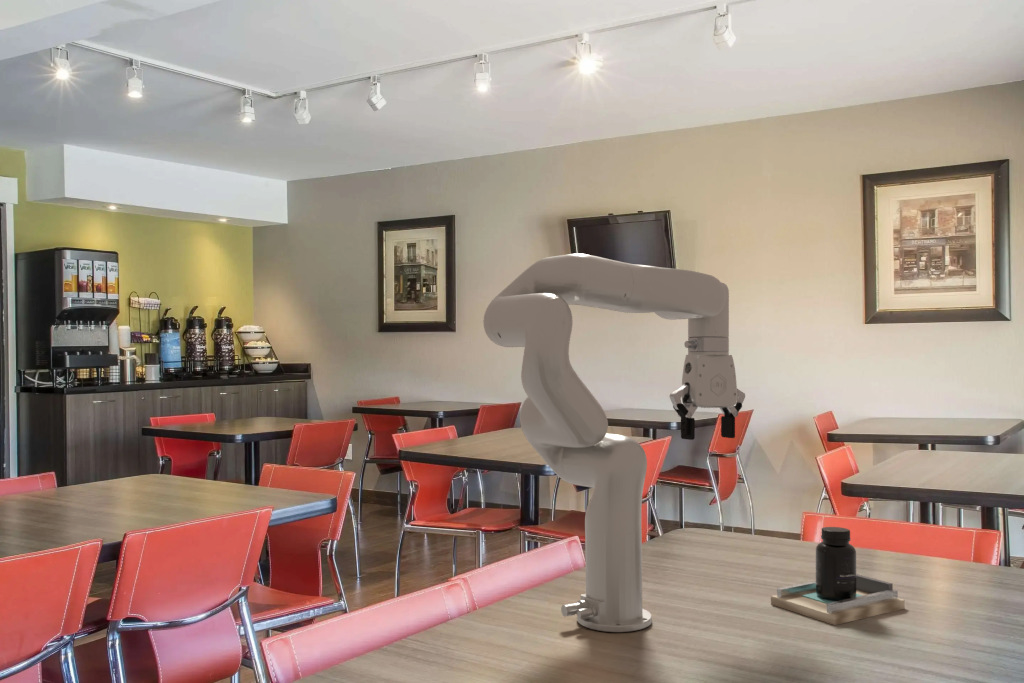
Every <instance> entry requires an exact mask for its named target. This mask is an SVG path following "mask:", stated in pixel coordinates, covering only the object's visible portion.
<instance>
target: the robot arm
mask: <svg viewBox="0 0 1024 683" xmlns="http://www.w3.org/2000/svg"><path fill="white" fill-rule="evenodd" d="M729 292H730V290H729V287H728V285H727V284H726V283H725V282H722V281H720V280H719V279H718V278H716V276H713V275H710V274H707V273H703V272H699V271H695V270H694V271H693V270H688V269H682V268H681V269H680V268H670V267H661V266H660V267H659V266H655V265H654V266H653V265H645V264H633V263H628V262H623V261H620V260H615V259H614V260H613V259H609V258H605V257H601V256H597V255H592V254H591V255H590V254H586V253H570V254H569V253H568V254H562V255H561V254H560V255H555V256H548V257H544V258H541V259H539V260H537V261H536V262H534V263H533V264H531V265H530V266H528V267H527V268H526V269H525V270H524V271H523V272H522V273H521V274H519V275H518V276H517V277H516V278H515V279H514V280H513V281H511V283H509V284H508V285H507V286H506V287H505V288H504V289H503V290H501V291H500V292H499V293H498V294H497V295H496V296H495V297H494V298H493V299H492V300H491V301H490V302H489V304H488V305H487V307H486V308H485V311H484V315H483V322H482V323H483V329H484V333H485V334H486V336H487V338H488V339H489V340H490V341H492V343H493V344H495V345H497V346H500V347H502V348H503V347H504V348H524V350H523V357H522V364H521V371H520V379H521V385H522V388H523V391H524V392H525V393H526V395H527V397H526V398H525V399H524V401H523V403H522V405H521V407H520V414H519V421H520V427H521V431H522V433H523V435H524V437H525V438H526V440H527V442H528V443H529V444H530V445H531V447H532V448H534V450H535V452H536V453H538V455H539V456H540V457H541V458H542V459H543V461H544V463H546V465H547V466H548V467H549V468H550V469H551V471H553V473H554V474H556V475H557V477H558V478H560V479H561V480H562V481H564V482H566V483H568V484H570V485H574V486H575V485H576V486H580V487H587V488H591V489H594V491H593V492H592V495H591V498H590V500H589V502H588V504H587V507H586V509H585V516H584V532H585V534H584V535H585V536H584V537H585V539H584V541H585V542H584V543H585V544H584V545H585V548H584V550H585V552H584V553H585V556H584V557H585V593H583V594H580V600H579V599H578V600H577V601H576V602H575V603H573V602H571V603H567V604H562V605H561V607H560V608H561V609H560V611H561V614H562V616H563V617H564V618H565V617H571V616H575V615H576V621H577V622H578V623H579V624H580V625H581V626H583V627H585V628H587V629H591V630H593V631H598V632H599V631H600V632H609V633H627V632H629V633H630V632H634V631H640V630H643V629H645V628H648V627H649V626H650V625H651V624H652V622H653V620H652V619H653V615H652V614H651V612H650V611H649V610H646V609H644V608H643V549H642V548H643V544H642V543H643V542H642V541H643V540H642V536H643V535H642V534H643V533H642V532H643V531H642V530H643V529H642V506H643V493H644V486H645V481H646V476H647V468H648V459H647V458H648V457H647V454H646V451H645V450H644V448H643V446H642V445H641V444H640V443H639V442H638V441H637V440H636V439H634V438H632V437H629V436H627V435H624V434H623V435H622V434H616V433H608V428H609V421H608V418H607V415H606V412H605V410H604V408H603V407H602V405H601V404H600V403H599V401H598V400H597V399H596V397H595V396H594V395H593V393H592V392H591V391H590V389H589V388H588V387H587V385H586V384H585V383H584V382H583V381H582V379H581V377H579V375H578V374H577V372H576V370H575V369H574V367H573V366H572V364H571V361H570V344H571V343H570V342H571V336H572V331H573V313H572V310H571V307H570V305H572V306H581V307H582V306H583V307H588V308H595V309H596V308H597V309H602V310H608V311H613V312H618V313H619V312H620V313H624V314H625V313H627V314H628V313H629V314H630V313H631V314H649V313H650V314H651V313H654V314H656V315H657V316H658V317H659V318H662V319H664V320H671V321H672V320H687V340H685V342H684V348H685V349H687V354H686V355H685V358H684V362H683V370H682V379H681V386H680V387H679V388H678V389H675V390H674V391H673V392H671V393H670V394H669V399H670V402H671V404H672V408H673V410H674V411H675V412H676V413H677V416H678V418H680V437H681V440H682V439H683V440H690V441H693V440H695V433H696V432H695V428H696V427H695V425H696V424H695V418H694V417H693V416H694V414H695V412H696V411H697V409H698V408H704V409H705V408H706V409H711V408H713V409H717V408H719V410H720V411H721V413H722V414H723V415H721V418H720V425H721V426H720V432H721V434H720V435H721V437H722V438H728V439H735V438H736V417H738V416H739V412H740V410H741V409H742V408H743V403H744V400H745V398H746V393H745V392H743V391H742V390H740V389H739V388H738V386H737V385H738V384H737V375H736V374H737V373H736V368H735V362H734V357H733V355H732V354H729V353H730V351H729V350H730V348H729V347H730V343H729V342H730V335H729V334H730V331H729V329H730V318H729V316H730V295H729V294H730V293H729Z"/></svg>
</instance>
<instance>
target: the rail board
mask: <svg viewBox="0 0 1024 683" xmlns="http://www.w3.org/2000/svg"><path fill="white" fill-rule="evenodd" d="M770 604H771V605H773V606H775V607H778V608H781V609H784V610H788V611H791V612H794V613H797V614H798V615H799V614H800V615H803V616H805V617H806V616H807V617H808V618H812V619H815V620H818V621H821V622H824V623H828V624H830V625H834V626H837V625H840V624H845V623H849V622H854V621H858V620H862V619H867V618H871V617H874V616H878V615H883V614H887V613H892V612H896V611H899V610H904V609H905V608H906V607H905V606H906V605H905V599H902V598H899V597H898V589H894V588H893V583H892V582H888V581H885V580H881V579H876V578H873V577H868V576H866V575H860V574H857V573H856V597H854V598H850V599H845V600H840V601H833V600H828V599H824V598H821V597H819V596H818V595H817V594H816V580H813V581H809V582H808V581H807V582H802V583H797V584H793V585H788V586H787V585H786V586H782V587H777V588H776V594H774V595H773V594H772V595H771V596H770Z"/></svg>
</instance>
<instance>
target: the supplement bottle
mask: <svg viewBox="0 0 1024 683" xmlns="http://www.w3.org/2000/svg"><path fill="white" fill-rule="evenodd" d="M820 539H821V540H822V541H821V542H820V543H819V542H818V544H817V545H816V546H815V581H816V594H817V595H818V596H819V597H821V598H824V599H828V600H833V601H840V600H845V599H850V598H854V597H856V574H857V550H856V548H855V546H854V545H852V544H851V543H850V542H851V531H850V529H849V528H844V527H840V526H839V527H838V526H825V527H822V528H821V535H820Z"/></svg>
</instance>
